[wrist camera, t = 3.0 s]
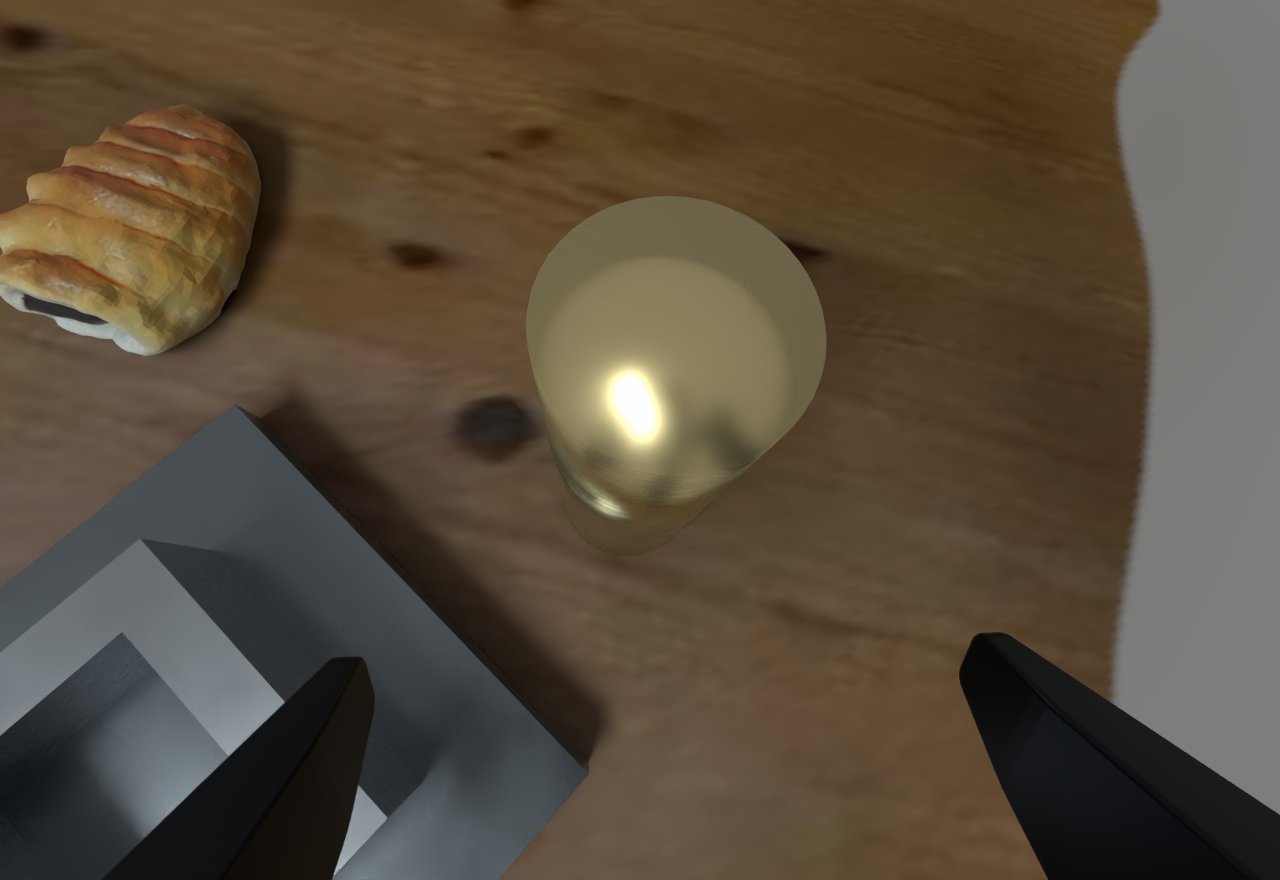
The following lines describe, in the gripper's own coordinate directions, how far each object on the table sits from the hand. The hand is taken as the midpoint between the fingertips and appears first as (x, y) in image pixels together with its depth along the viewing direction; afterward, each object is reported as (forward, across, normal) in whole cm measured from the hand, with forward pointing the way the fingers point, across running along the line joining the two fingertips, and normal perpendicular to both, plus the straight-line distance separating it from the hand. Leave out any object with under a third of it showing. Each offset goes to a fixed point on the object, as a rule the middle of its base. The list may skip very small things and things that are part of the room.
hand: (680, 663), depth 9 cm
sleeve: (+12, 0, +5) cm, 13 cm away
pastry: (+18, +17, -1) cm, 25 cm away
